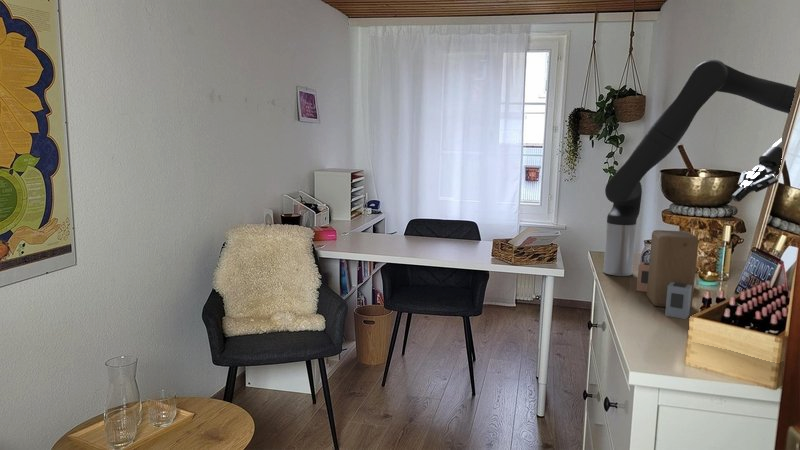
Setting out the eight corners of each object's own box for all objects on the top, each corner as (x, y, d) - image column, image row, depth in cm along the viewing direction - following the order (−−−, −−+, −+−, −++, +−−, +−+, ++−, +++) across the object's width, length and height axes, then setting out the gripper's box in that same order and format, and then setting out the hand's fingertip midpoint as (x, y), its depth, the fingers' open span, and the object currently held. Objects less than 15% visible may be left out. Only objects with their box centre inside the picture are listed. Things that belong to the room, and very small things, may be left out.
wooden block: (692, 309, 156) (700, 237, 152) (653, 307, 158) (659, 235, 154) (682, 299, 165) (689, 231, 162) (645, 297, 167) (651, 229, 164)
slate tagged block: (668, 310, 155) (671, 280, 153) (689, 314, 152) (692, 284, 150) (664, 315, 150) (667, 285, 149) (685, 319, 148) (688, 288, 146)
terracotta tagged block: (640, 286, 178) (642, 260, 177) (657, 289, 176) (660, 263, 174) (636, 290, 174) (638, 263, 173) (653, 293, 171) (656, 266, 170)
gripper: (758, 144, 162) (712, 187, 164) (792, 145, 149) (741, 192, 151) (774, 163, 163) (728, 205, 165) (809, 166, 150) (758, 212, 152)
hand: (734, 199), depth 158 cm, fingers closed
